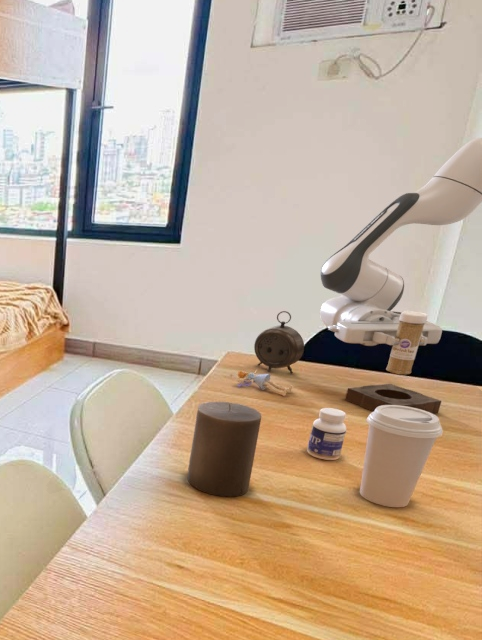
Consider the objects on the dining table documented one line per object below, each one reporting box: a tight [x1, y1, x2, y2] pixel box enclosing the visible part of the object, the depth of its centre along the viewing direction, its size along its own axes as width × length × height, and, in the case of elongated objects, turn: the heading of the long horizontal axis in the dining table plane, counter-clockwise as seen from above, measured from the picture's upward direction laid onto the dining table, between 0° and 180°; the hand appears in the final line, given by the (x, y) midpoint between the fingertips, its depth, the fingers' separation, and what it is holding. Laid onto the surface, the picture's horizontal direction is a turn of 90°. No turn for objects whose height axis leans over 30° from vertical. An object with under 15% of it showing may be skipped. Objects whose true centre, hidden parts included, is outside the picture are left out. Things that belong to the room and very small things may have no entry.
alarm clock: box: [253, 310, 305, 375], centre depth 165 cm, size 11×5×16 cm, turn 34°
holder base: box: [344, 383, 442, 415], centre depth 141 cm, size 12×12×3 cm
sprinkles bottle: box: [385, 310, 429, 375], centre depth 137 cm, size 5×5×13 cm
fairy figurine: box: [235, 369, 293, 397], centre depth 154 cm, size 12×5×12 cm
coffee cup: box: [359, 405, 443, 508], centre depth 101 cm, size 10×10×15 cm
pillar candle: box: [187, 401, 262, 498], centre depth 107 cm, size 10×10×15 cm
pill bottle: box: [306, 407, 347, 461], centre depth 118 cm, size 5×5×9 cm
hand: (409, 341), depth 136 cm, fingers closed on sprinkles bottle, 4 cm apart
